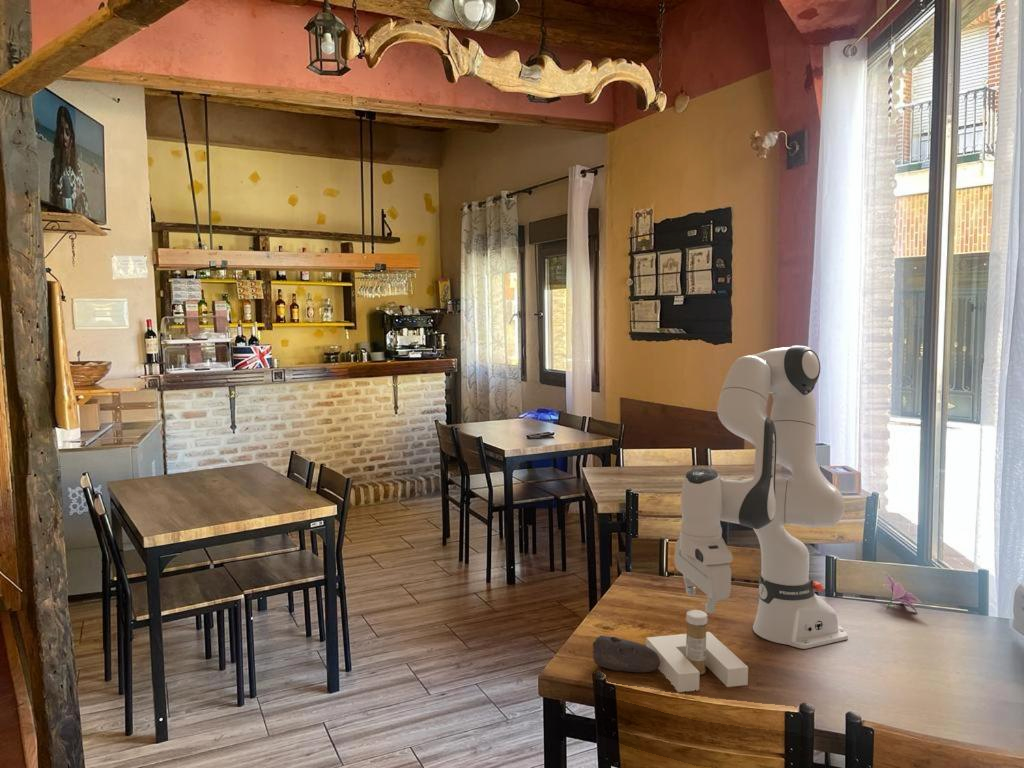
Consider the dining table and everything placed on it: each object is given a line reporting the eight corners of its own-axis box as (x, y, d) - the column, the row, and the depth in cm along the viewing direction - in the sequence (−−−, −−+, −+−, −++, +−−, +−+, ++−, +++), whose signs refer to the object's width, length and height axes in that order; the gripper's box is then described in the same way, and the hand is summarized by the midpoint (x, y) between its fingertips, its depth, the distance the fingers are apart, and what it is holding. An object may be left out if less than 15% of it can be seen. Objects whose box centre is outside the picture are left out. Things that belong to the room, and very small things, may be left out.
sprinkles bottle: (691, 664, 165) (692, 607, 164) (709, 670, 162) (711, 612, 161) (681, 671, 162) (682, 613, 160) (699, 678, 159) (701, 619, 157)
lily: (920, 626, 188) (934, 593, 189) (875, 604, 191) (889, 571, 192) (905, 622, 199) (918, 590, 200) (862, 601, 202) (876, 570, 203)
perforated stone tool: (661, 669, 163) (662, 639, 162) (658, 680, 158) (659, 650, 157) (595, 659, 167) (596, 630, 167) (591, 670, 162) (591, 640, 162)
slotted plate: (708, 647, 173) (709, 631, 173) (747, 684, 156) (748, 667, 155) (646, 653, 170) (646, 637, 170) (678, 692, 153) (678, 674, 152)
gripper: (667, 529, 169) (667, 586, 170) (709, 560, 149) (708, 624, 150) (692, 527, 170) (692, 583, 172) (737, 557, 150) (735, 621, 152)
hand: (700, 602), depth 161 cm, fingers open, 8 cm apart
